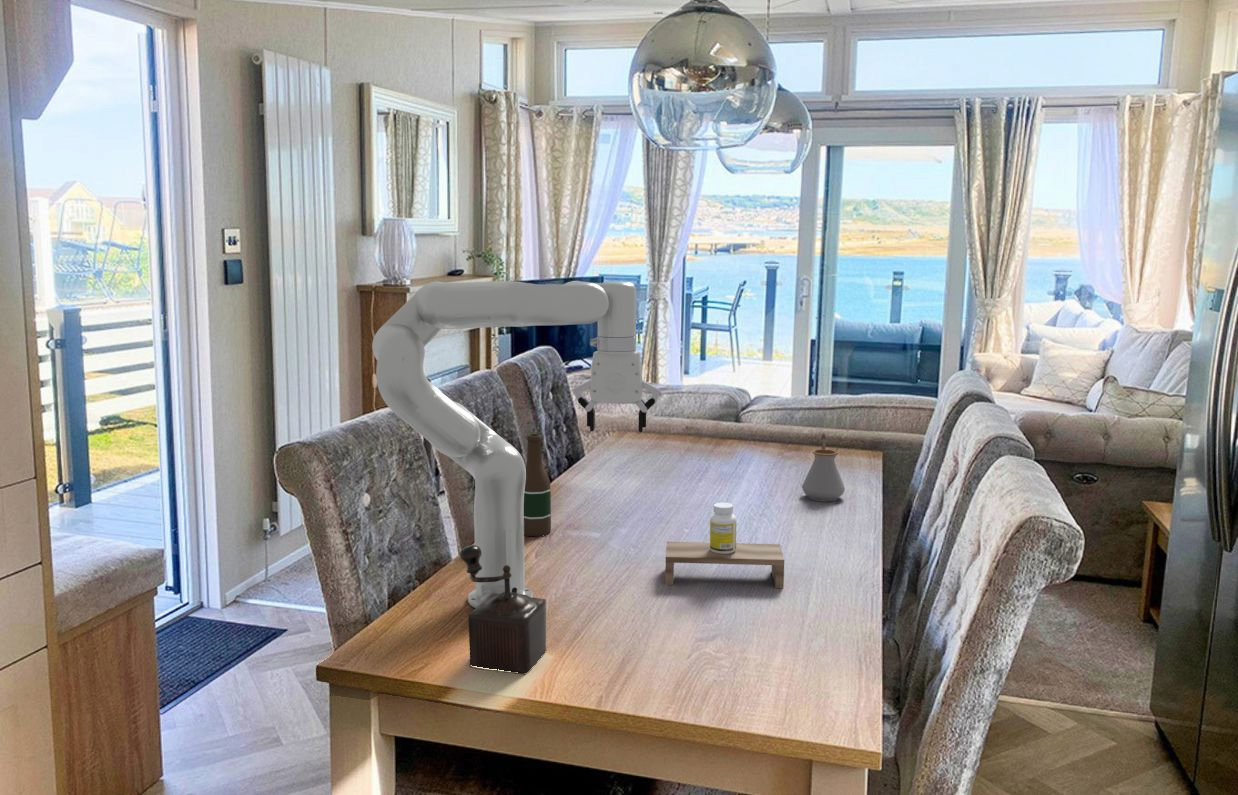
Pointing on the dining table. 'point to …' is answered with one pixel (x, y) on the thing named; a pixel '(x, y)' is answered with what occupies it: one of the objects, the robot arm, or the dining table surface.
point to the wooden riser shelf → (725, 557)
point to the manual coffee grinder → (504, 623)
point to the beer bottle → (536, 491)
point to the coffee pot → (823, 476)
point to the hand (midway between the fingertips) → (616, 430)
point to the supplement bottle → (723, 529)
